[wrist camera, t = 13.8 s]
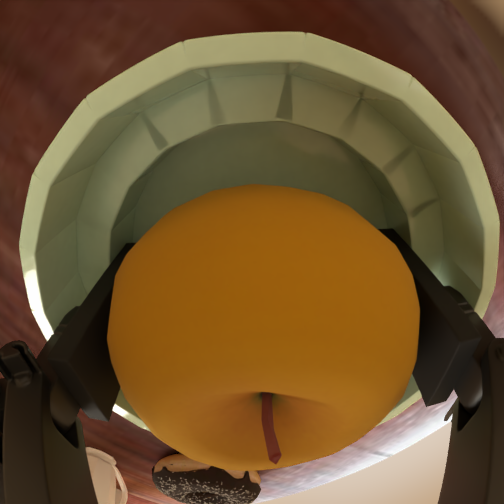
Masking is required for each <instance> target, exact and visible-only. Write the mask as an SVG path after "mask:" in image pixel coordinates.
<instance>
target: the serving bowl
mask: <svg viewBox="0 0 504 504" xmlns="http://www.w3.org/2000/svg"><path fill="white" fill-rule="evenodd" d="M248 184H262V185H275V186H286V187H292V188H297V189H302V190H307V191H312V192H317V193H321V194H324V195H326V196H329V197H331V198H333V199H336V200H338V201H340V202H342V203H344V204H347V205H349V206H350V207H351V208H352V209H353V210H355V211H356V212H357V213H358V214H360V215H361V216H362V217H363V218H364V219H366V220H367V221H368V222H369V223H370V224H372V225H373V226H374V227H375V228H376V229H390V228H393V229H394V230H395V231H396V232H397V233H398V234H399V235H400V237H401V238H402V239H403V240H404V241H405V242H406V243H407V244H408V245H409V246H410V247H411V249H412V250H413V251H414V252H415V253H416V254H417V255H418V256H419V258H420V259H421V260H422V261H423V262H424V263H425V264H426V266H427V267H428V268H429V269H430V270H431V271H432V273H433V274H434V275H435V276H436V277H437V279H438V280H439V281H440V282H441V283H442V285H443V286H448V285H450V286H451V287H453V288H454V289H456V290H457V291H459V292H460V293H461V294H462V295H463V296H464V298H465V299H466V300H467V301H468V304H470V305H471V306H472V307H473V309H474V312H476V313H477V314H478V315H479V316H480V318H481V319H483V316H484V314H485V311H486V309H487V307H488V304H489V301H490V299H491V296H492V294H493V291H494V288H495V284H496V275H497V265H498V252H499V230H500V221H499V215H498V211H497V208H496V204H495V200H494V197H493V194H492V190H491V187H490V184H489V181H488V178H487V175H486V172H485V169H484V166H483V163H482V160H481V158H480V155H479V152H478V150H477V148H476V147H475V145H474V143H473V142H472V141H471V139H470V138H469V137H468V136H467V134H466V133H465V132H464V131H463V129H462V128H461V127H460V126H459V125H458V123H457V122H456V121H455V120H454V119H453V118H452V116H451V115H450V114H449V113H448V112H447V111H446V110H445V109H444V107H443V106H442V105H441V104H440V103H439V102H438V101H437V100H436V99H435V98H434V97H433V96H432V95H431V94H430V93H429V92H428V91H427V90H426V89H425V88H424V87H423V86H422V85H421V84H420V83H419V82H418V81H417V80H416V79H415V78H414V77H412V75H410V74H409V73H407V72H405V71H403V70H401V69H399V68H397V67H395V66H393V65H391V64H389V63H387V62H384V61H382V60H380V59H378V58H376V57H373V56H371V55H369V54H366V53H364V52H362V51H359V50H357V49H354V48H352V47H349V46H346V45H344V44H341V43H338V42H336V41H333V40H330V39H327V38H324V37H321V36H318V35H315V34H312V33H306V34H305V33H304V32H253V33H238V34H227V35H217V36H209V37H201V38H194V39H188V40H185V41H184V43H183V42H178V43H176V44H174V45H172V46H170V47H168V48H166V49H164V50H162V51H160V52H158V53H156V54H154V55H152V56H150V57H148V58H147V59H145V60H143V61H141V62H139V63H138V64H136V65H134V66H132V67H131V68H129V69H127V70H126V71H124V72H122V73H121V74H119V75H117V76H116V77H114V78H112V79H111V80H109V81H108V82H106V83H105V84H103V85H102V86H100V87H99V88H97V89H96V90H94V91H93V92H91V93H90V94H88V95H87V97H86V98H85V99H83V100H82V102H81V103H80V104H79V105H78V107H77V108H76V109H75V111H74V112H73V113H72V115H71V116H70V117H69V119H68V120H67V121H66V123H65V124H64V126H63V127H62V128H61V130H60V131H59V133H58V134H57V136H56V137H55V139H54V140H53V142H52V143H51V145H50V146H49V148H48V149H47V151H46V152H45V154H44V155H43V157H42V159H41V160H40V162H39V164H38V165H37V167H36V169H35V170H34V173H33V174H32V178H31V182H30V186H29V190H28V195H27V200H26V205H25V210H24V215H23V221H22V227H21V234H20V241H19V246H20V247H19V250H20V257H21V264H22V270H23V276H24V281H25V286H26V291H27V296H28V300H29V305H30V308H31V311H32V313H33V315H34V317H35V319H36V321H37V323H38V325H39V327H40V329H41V331H42V333H43V334H44V336H45V338H46V340H47V341H48V340H49V338H50V337H51V335H53V334H54V333H53V332H54V331H55V329H56V328H57V326H58V327H59V323H60V322H61V320H62V319H63V317H64V316H65V315H66V314H67V313H68V312H69V311H70V310H72V309H73V308H74V307H75V306H80V305H81V304H82V303H83V301H84V300H85V298H86V297H87V295H88V294H89V293H90V291H91V290H92V288H93V287H94V286H95V284H96V283H97V281H98V280H99V279H100V277H101V276H102V275H103V273H104V272H105V270H106V269H107V268H108V266H109V265H110V264H111V262H112V261H113V260H114V259H115V257H116V256H117V255H118V253H119V252H120V251H121V249H122V248H123V247H124V246H125V244H126V243H135V242H138V241H139V240H140V238H141V237H142V236H143V235H144V234H145V233H146V232H147V231H148V230H149V229H150V228H151V227H153V226H154V225H155V224H156V223H157V222H158V221H159V220H160V219H161V218H162V217H163V216H164V215H166V214H167V213H168V212H169V211H171V210H172V209H173V208H175V207H177V206H180V205H182V204H184V203H186V202H188V201H190V200H193V199H195V198H197V197H199V196H201V195H204V194H206V193H208V192H210V191H213V190H218V189H224V188H230V187H236V186H242V185H248ZM421 397H422V395H421V393H420V391H419V388H418V386H417V384H416V381H415V379H414V377H413V375H411V377H410V380H409V383H408V385H407V388H406V391H405V393H404V396H403V397H402V399H401V400H400V401H399V402H398V403H397V404H396V406H395V407H394V408H393V409H392V410H391V411H390V412H389V413H388V415H387V416H386V417H385V418H384V419H383V420H382V421H381V422H380V423H379V424H378V425H380V424H382V423H384V422H386V421H388V420H390V419H392V418H394V417H396V416H397V415H399V414H400V413H401V412H403V411H404V410H406V409H407V408H408V407H410V406H411V405H412V404H414V403H415V402H416V401H418V400H419V399H420V398H421ZM113 411H114V412H116V413H117V414H119V415H121V416H122V417H124V418H125V419H127V420H129V421H130V422H132V423H134V424H135V425H137V426H139V427H141V428H144V429H145V430H148V431H150V430H149V428H148V427H147V426H146V425H145V423H144V422H143V421H142V420H141V418H140V417H139V416H138V415H137V413H136V412H135V411H134V409H133V408H132V407H131V405H130V404H129V403H128V401H127V400H126V399H125V397H124V394H123V392H122V389H121V388H120V391H119V393H118V396H117V399H116V402H115V405H114V408H113ZM378 425H376V426H378ZM376 426H375V427H376Z"/></svg>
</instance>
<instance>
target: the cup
mask: <svg viewBox="0 0 504 504" xmlns="http://www.w3.org/2000/svg"><path fill="white" fill-rule="evenodd" d="M86 453H87V458H88V463H89V468H90V473H91V477H92V481H93V485H94V489H95V493H96V497H97V501H98V504H115V493H116V477H117V480H118V482H119V484H120V487H121V490H122V498H121V501H120V504H126V502H127V488H126V485H125V482H124V480H123V478H122V476H121V474H120V472H119V470H118V469H117V467H116V466H115V465H116V461H115V459H114V458H113V457H112V456H110V455H108V454H106V453H104V452H102V451H101V450H97V449H94V448H91V447H86ZM115 475H116V476H115Z"/></svg>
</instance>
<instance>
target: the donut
mask: <svg viewBox="0 0 504 504" xmlns="http://www.w3.org/2000/svg"><path fill="white" fill-rule="evenodd" d="M152 478H153V482H154V484H155V485H156V488H157V489H158V490H159V491H160V492H161V493H163V494H165V495H167V496H169V497H171V498H173V499H175V500H177V501H179V502H183V503H186V504H249V503H252V502H253V501H254V500H255V499H256V498H257V497H258V495H259V493H260V491H261V488H260V486H259V485H260V482H261V479H260V477H259V475H258V472H257V471H238V470H224V469H221V468H217V467H214V466H211V465H208V464H204V463H201V462H198V461H195V460H192V459H190V458H188V457H187V456H185V455H183V454H174V455H170V456H167V457H165V458H163V459H161V460H160V461H158V462H157V464H156V465H155V467H154V466H153V468H152Z"/></svg>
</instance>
